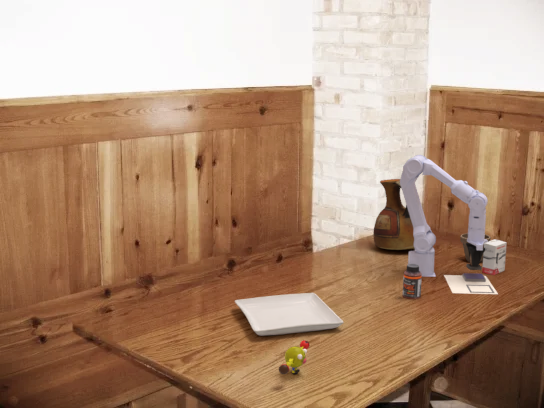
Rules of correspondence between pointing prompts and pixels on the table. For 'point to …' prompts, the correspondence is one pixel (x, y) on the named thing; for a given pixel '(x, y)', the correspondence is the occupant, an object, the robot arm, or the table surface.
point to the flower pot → (464, 241)
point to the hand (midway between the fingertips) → (474, 264)
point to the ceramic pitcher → (393, 221)
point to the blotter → (469, 285)
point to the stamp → (473, 266)
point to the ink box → (494, 257)
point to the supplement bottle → (412, 282)
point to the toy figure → (295, 358)
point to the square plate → (288, 314)
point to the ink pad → (474, 277)
